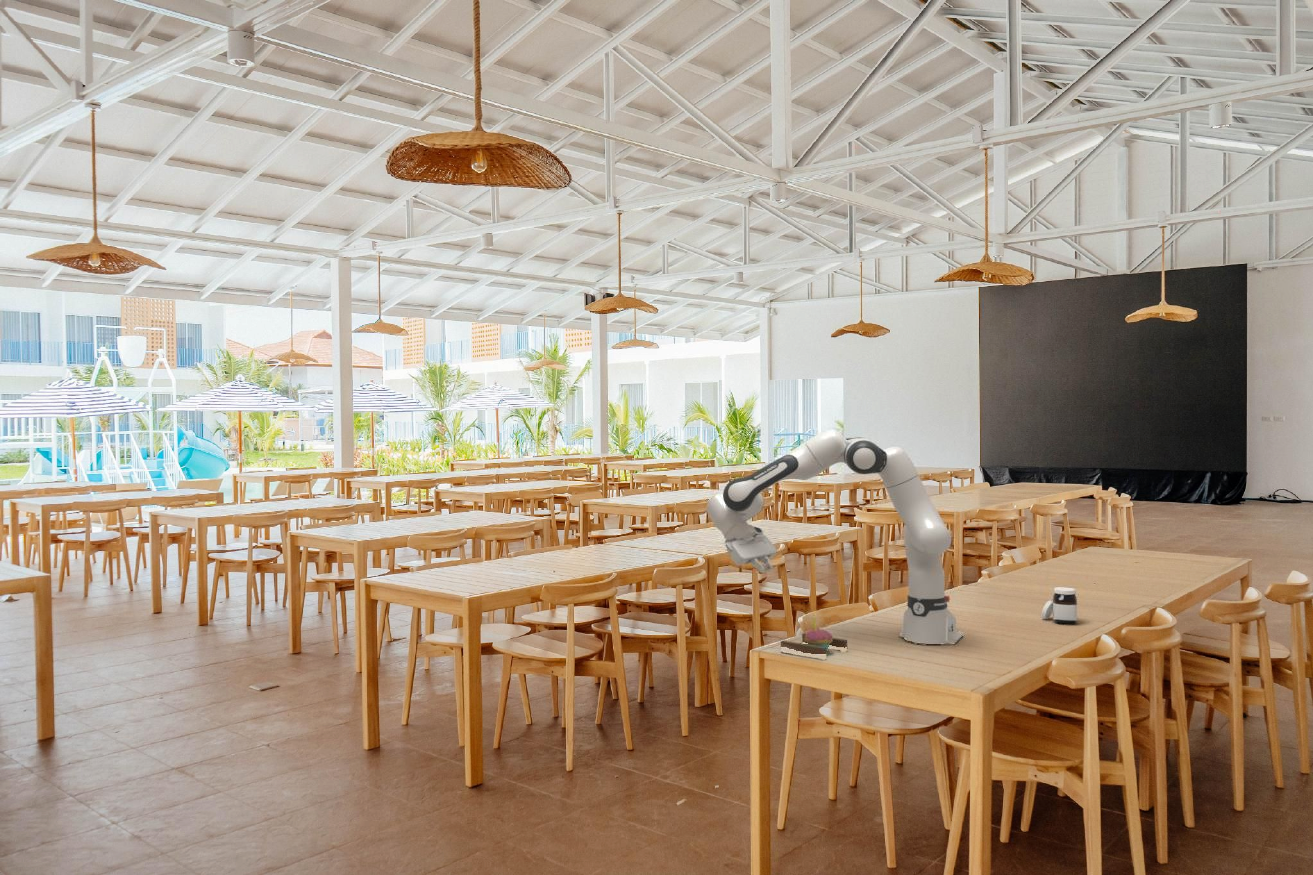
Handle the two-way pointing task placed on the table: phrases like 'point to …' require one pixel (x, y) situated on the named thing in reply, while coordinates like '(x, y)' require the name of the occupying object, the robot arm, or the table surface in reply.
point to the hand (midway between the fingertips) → (767, 570)
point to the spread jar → (1062, 606)
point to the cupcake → (818, 637)
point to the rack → (812, 646)
